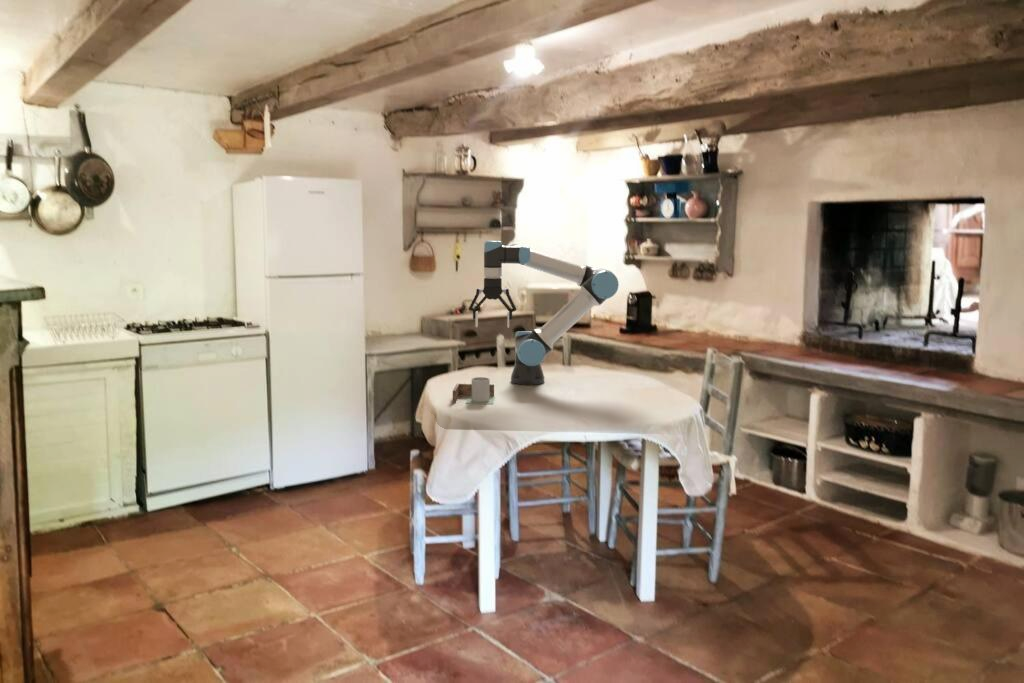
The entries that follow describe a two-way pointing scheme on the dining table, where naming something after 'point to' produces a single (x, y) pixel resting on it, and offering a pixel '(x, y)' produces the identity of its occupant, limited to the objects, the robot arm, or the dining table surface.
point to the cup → (480, 389)
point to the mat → (469, 401)
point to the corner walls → (467, 391)
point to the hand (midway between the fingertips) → (492, 327)
